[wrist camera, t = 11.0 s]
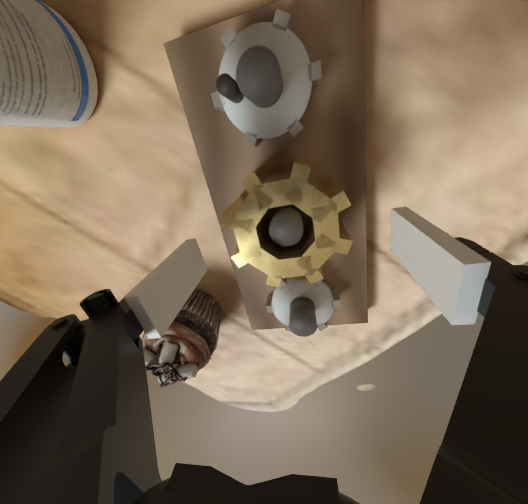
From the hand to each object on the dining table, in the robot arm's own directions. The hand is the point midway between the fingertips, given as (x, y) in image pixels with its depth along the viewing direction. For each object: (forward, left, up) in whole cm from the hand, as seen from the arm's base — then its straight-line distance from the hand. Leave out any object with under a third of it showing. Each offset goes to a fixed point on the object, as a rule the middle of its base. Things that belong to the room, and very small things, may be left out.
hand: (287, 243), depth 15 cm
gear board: (0, 0, -10) cm, 10 cm away
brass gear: (0, 0, -8) cm, 8 cm away
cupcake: (+16, +13, -11) cm, 23 cm away
